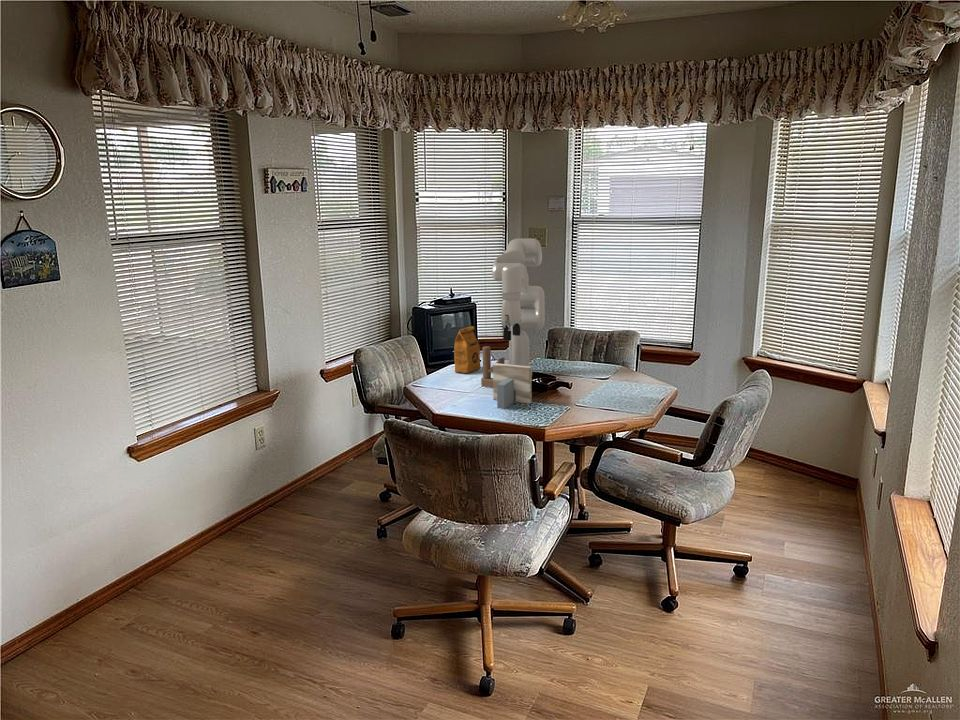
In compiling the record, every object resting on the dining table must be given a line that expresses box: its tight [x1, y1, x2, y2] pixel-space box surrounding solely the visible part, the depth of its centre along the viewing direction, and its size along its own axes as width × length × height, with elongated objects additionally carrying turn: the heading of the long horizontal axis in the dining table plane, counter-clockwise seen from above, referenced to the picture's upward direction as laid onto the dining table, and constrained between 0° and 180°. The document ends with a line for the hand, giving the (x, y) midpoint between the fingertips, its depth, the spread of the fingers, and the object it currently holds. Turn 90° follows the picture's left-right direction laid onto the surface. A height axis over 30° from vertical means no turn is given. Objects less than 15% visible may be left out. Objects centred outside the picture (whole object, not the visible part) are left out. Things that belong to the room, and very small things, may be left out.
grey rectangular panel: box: [496, 378, 516, 410], centre depth 281 cm, size 24×3×10 cm, turn 155°
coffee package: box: [453, 325, 481, 374], centre depth 328 cm, size 10×12×22 cm
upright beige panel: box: [492, 362, 533, 404], centre depth 280 cm, size 3×16×15 cm, turn 65°
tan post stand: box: [480, 345, 506, 389], centre depth 301 cm, size 4×11×18 cm, turn 52°
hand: (511, 337), depth 276 cm, fingers open, 9 cm apart
